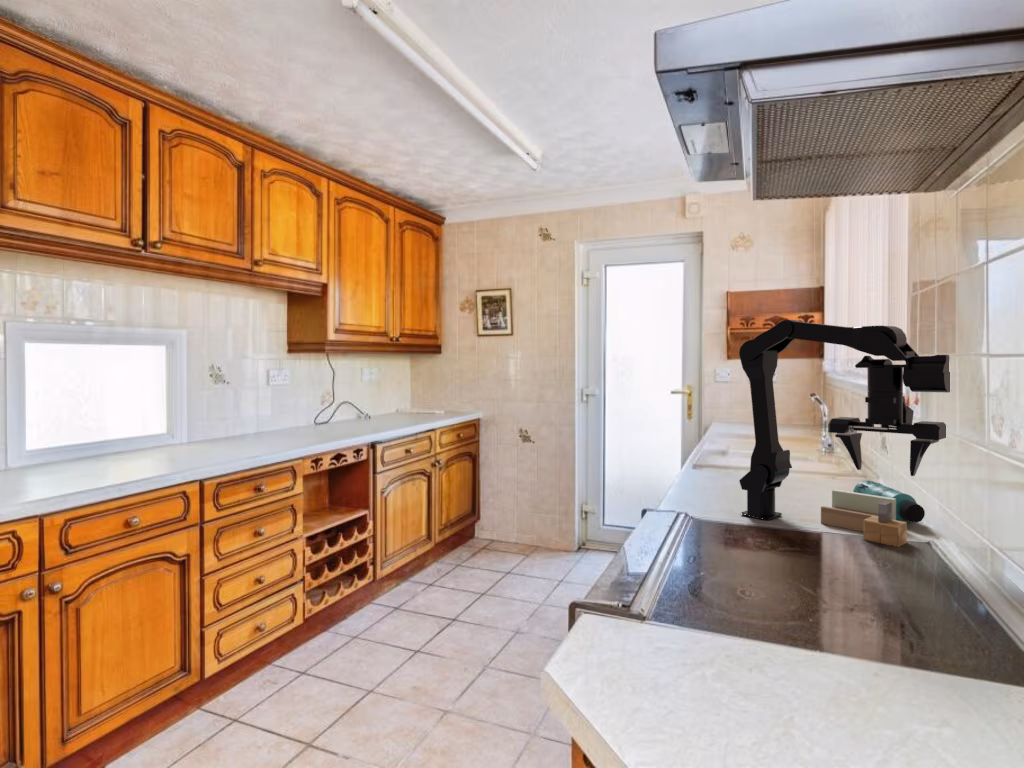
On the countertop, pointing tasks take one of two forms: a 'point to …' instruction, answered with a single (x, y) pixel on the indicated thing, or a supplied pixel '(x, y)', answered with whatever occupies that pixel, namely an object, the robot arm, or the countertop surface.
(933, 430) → the robot arm
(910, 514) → the beverage bottle
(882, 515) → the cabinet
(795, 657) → the countertop surface
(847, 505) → the wooden stand with panel
